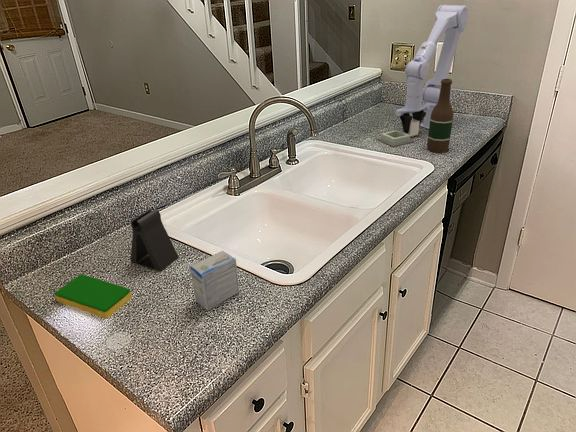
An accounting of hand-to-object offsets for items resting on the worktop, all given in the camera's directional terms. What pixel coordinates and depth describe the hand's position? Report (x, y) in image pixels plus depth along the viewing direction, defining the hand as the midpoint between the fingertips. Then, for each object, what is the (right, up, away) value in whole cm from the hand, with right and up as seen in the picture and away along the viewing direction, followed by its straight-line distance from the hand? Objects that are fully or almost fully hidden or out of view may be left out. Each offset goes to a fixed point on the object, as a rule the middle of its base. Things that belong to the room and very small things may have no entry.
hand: (410, 131), depth 170 cm
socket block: (-7, -4, -3) cm, 8 cm away
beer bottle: (+6, -9, -12) cm, 16 cm away
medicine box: (-61, -48, -79) cm, 111 cm away
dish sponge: (-86, -49, -78) cm, 126 cm away
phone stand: (-77, -42, -67) cm, 110 cm away
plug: (0, -2, +1) cm, 2 cm away
